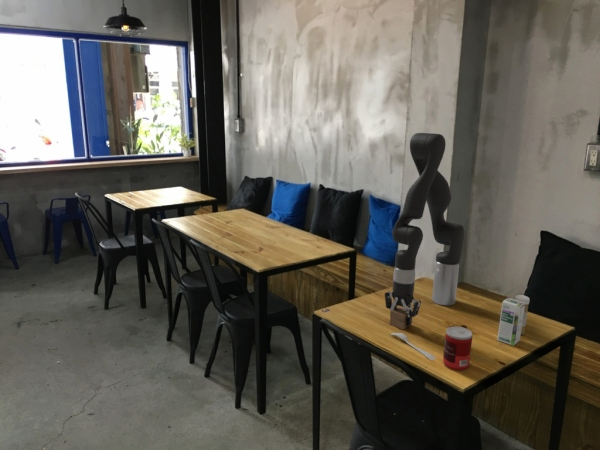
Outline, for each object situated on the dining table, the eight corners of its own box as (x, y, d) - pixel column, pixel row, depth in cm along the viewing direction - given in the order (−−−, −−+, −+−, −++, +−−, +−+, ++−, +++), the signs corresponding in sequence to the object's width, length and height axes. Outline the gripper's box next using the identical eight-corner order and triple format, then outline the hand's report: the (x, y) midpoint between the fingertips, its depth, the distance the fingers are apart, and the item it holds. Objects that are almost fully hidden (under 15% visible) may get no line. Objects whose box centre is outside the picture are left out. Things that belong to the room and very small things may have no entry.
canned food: (471, 362, 149) (475, 329, 146) (465, 373, 142) (469, 340, 139) (446, 355, 152) (449, 323, 150) (439, 366, 146) (443, 333, 143)
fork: (430, 368, 150) (432, 360, 149) (386, 334, 166) (387, 328, 165) (436, 366, 151) (438, 358, 150) (392, 333, 167) (393, 326, 167)
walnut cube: (397, 320, 177) (398, 306, 176) (410, 324, 174) (412, 310, 172) (389, 324, 173) (390, 310, 172) (403, 329, 170) (404, 315, 168)
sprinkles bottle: (508, 329, 172) (513, 294, 168) (520, 329, 172) (525, 294, 169) (515, 335, 167) (520, 299, 164) (527, 335, 168) (532, 299, 164)
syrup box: (496, 340, 163) (501, 301, 160) (503, 335, 167) (509, 296, 164) (513, 346, 159) (519, 306, 156) (520, 340, 163) (526, 301, 160)
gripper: (427, 281, 167) (423, 326, 171) (392, 271, 177) (389, 314, 181) (416, 287, 162) (412, 332, 166) (381, 276, 171) (378, 320, 175)
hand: (400, 322), depth 173 cm, fingers closed on walnut cube, 5 cm apart
